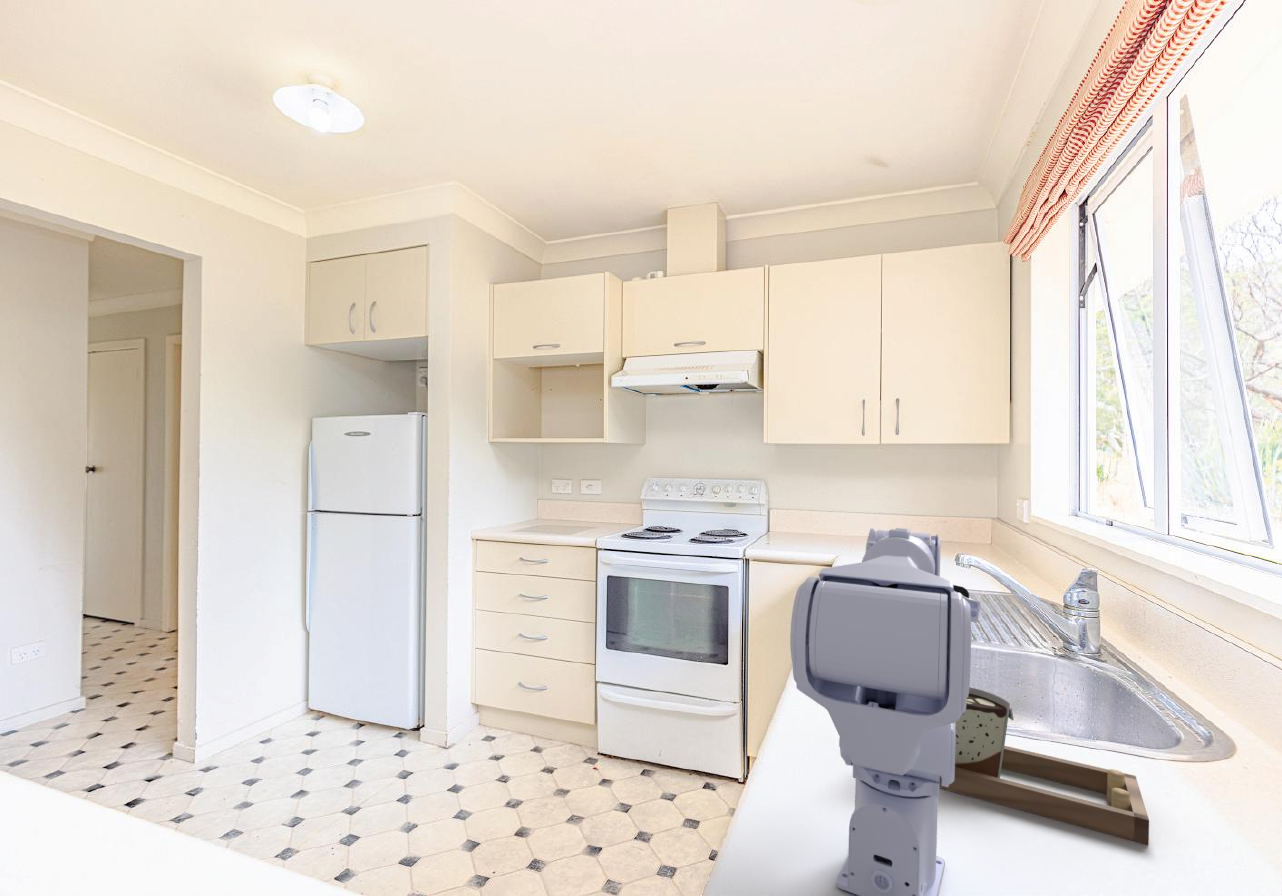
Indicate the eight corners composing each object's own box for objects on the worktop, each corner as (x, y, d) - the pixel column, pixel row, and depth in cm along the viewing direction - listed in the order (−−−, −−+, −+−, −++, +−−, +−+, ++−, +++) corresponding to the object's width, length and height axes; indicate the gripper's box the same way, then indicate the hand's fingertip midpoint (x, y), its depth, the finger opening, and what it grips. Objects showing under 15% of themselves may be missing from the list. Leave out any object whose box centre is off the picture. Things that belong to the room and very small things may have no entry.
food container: (989, 762, 84) (991, 684, 84) (1012, 786, 78) (1014, 703, 78) (890, 755, 85) (893, 678, 85) (905, 778, 79) (907, 696, 79)
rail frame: (1148, 844, 66) (1149, 810, 66) (933, 786, 77) (934, 757, 77) (1135, 797, 76) (1135, 767, 76) (945, 751, 86) (946, 724, 86)
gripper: (986, 564, 68) (979, 594, 79) (844, 536, 74) (856, 568, 86) (977, 631, 65) (971, 652, 77) (831, 596, 72) (845, 620, 83)
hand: (910, 611), depth 81 cm, fingers open, 7 cm apart
